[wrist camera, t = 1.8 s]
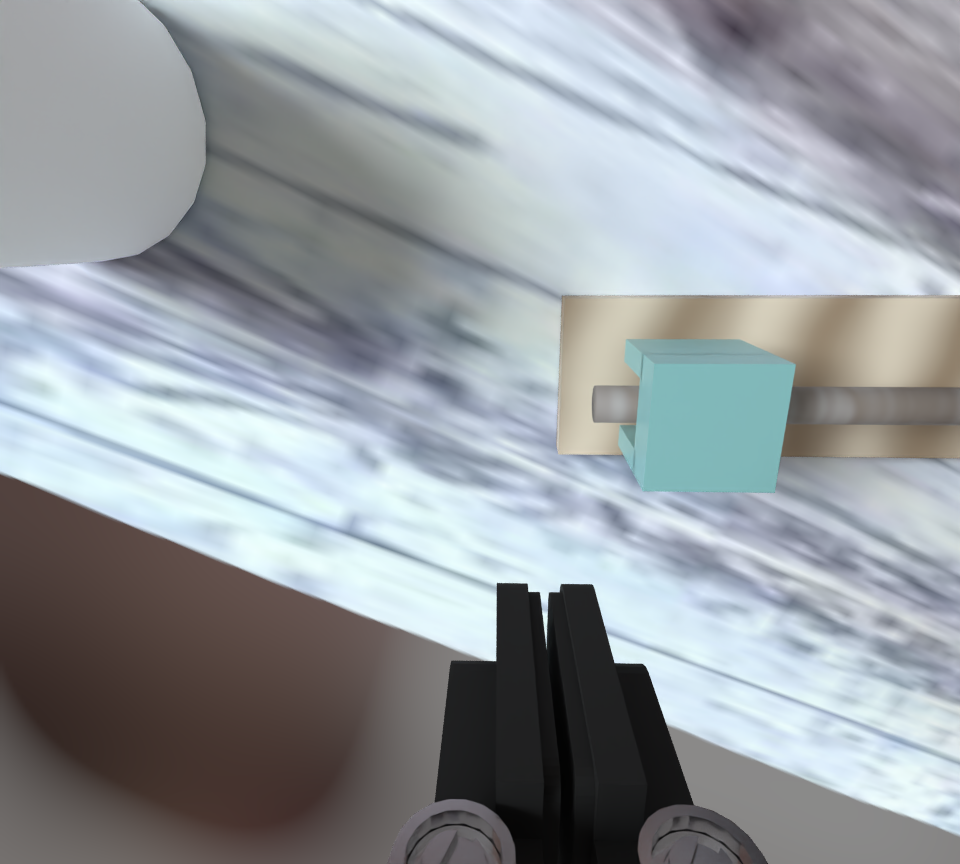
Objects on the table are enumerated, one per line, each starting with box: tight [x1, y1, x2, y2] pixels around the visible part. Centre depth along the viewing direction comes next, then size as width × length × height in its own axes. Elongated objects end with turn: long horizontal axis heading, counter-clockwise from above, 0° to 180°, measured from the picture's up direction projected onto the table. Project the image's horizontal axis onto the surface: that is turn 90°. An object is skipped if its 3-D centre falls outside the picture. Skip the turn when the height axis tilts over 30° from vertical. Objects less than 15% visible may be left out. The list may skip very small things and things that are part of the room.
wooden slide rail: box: [556, 295, 960, 458], centre depth 27 cm, size 26×8×8 cm, turn 90°
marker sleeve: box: [618, 339, 796, 493], centre depth 25 cm, size 5×5×5 cm
